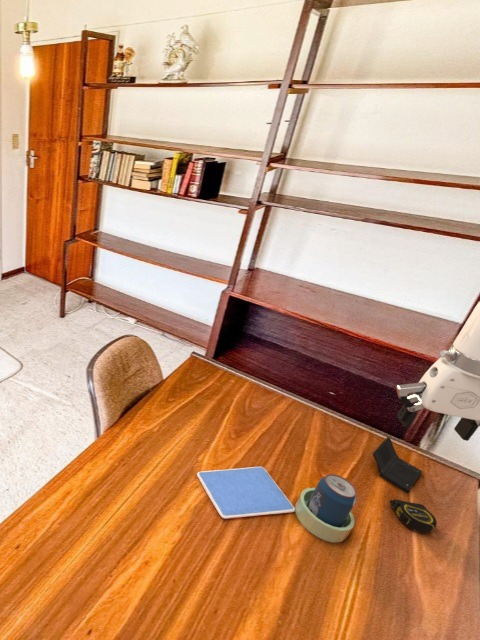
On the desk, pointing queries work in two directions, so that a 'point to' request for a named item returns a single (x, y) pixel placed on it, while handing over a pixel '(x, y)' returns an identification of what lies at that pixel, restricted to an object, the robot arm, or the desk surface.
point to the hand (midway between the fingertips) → (431, 428)
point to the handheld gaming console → (395, 466)
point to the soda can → (332, 500)
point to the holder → (319, 526)
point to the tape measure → (414, 515)
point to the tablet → (244, 492)
